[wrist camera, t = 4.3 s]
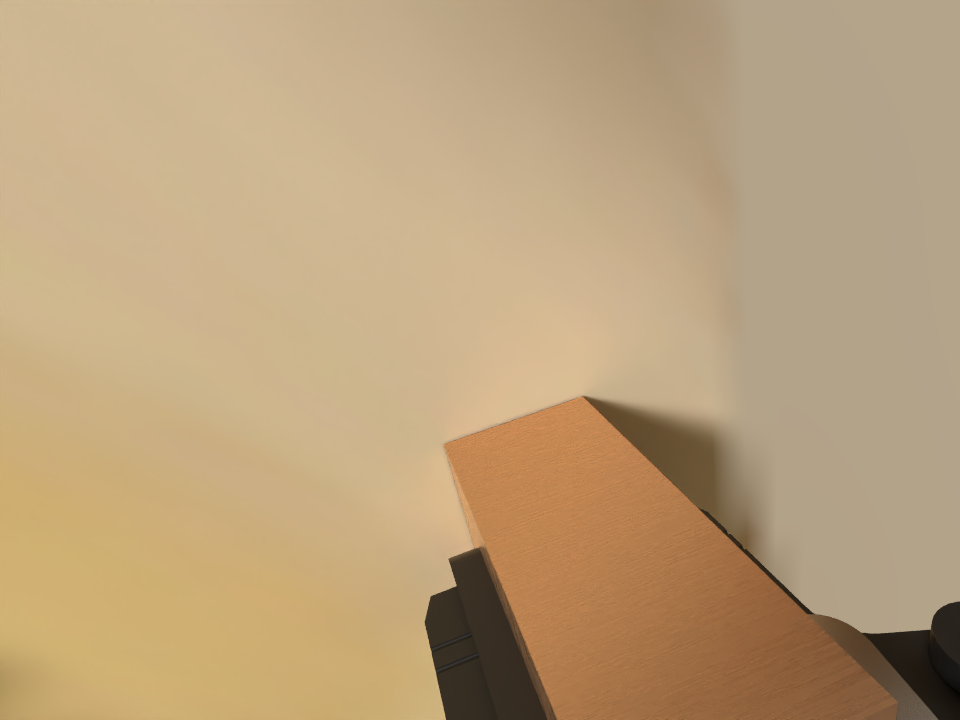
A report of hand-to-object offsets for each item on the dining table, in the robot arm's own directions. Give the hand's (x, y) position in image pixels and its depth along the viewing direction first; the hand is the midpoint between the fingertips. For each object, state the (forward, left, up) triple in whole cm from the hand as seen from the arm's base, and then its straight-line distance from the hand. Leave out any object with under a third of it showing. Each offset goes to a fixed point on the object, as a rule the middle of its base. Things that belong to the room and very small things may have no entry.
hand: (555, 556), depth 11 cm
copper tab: (0, 0, -1) cm, 1 cm away
